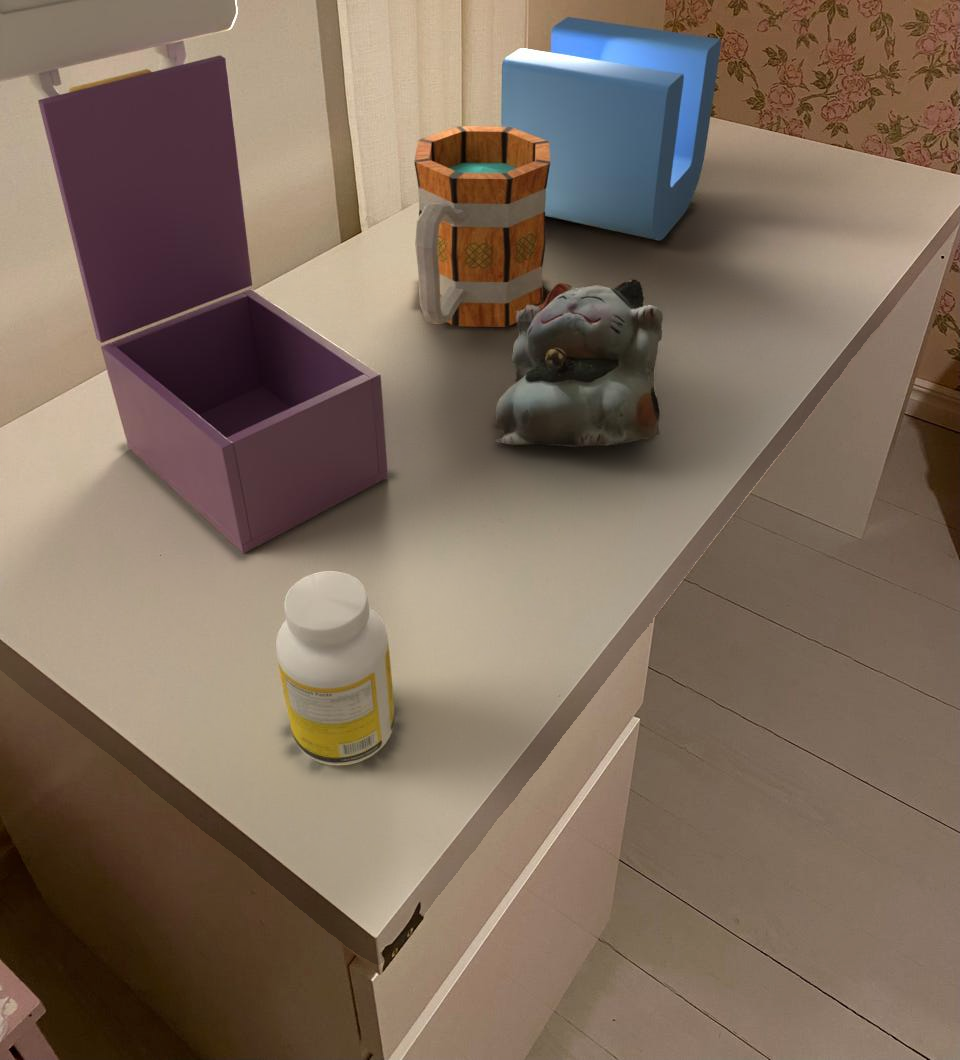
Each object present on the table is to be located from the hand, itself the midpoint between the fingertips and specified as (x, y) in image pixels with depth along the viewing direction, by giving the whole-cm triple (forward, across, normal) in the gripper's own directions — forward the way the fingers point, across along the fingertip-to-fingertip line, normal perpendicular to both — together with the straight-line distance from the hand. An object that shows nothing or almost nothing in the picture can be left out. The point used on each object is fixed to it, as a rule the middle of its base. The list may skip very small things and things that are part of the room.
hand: (120, 118), depth 76 cm
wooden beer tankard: (+25, -30, +4) cm, 40 cm away
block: (+25, -57, -3) cm, 62 cm away
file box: (+25, 0, +11) cm, 28 cm away
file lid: (+5, 0, +4) cm, 7 cm away
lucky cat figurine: (+25, -23, +25) cm, 43 cm away
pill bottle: (+26, +11, +38) cm, 47 cm away
